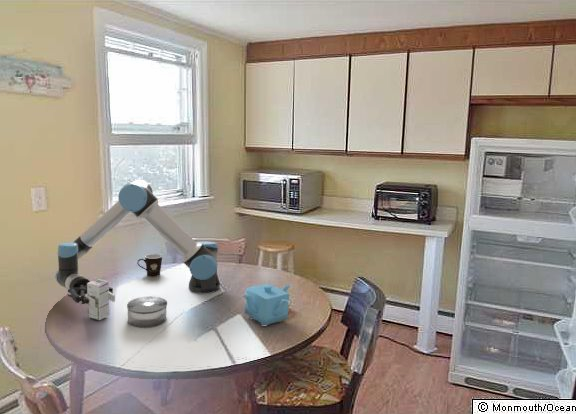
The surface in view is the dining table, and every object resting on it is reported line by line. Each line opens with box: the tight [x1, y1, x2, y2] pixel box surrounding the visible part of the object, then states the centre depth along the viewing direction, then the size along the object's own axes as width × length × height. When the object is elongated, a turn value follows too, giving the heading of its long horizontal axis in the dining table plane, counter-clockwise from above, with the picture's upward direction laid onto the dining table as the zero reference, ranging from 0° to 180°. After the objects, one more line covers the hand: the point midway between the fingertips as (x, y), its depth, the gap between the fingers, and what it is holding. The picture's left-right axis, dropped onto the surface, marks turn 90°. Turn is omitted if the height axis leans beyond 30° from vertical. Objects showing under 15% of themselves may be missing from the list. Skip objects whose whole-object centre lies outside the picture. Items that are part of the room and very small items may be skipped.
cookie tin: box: [126, 295, 168, 329], centre depth 165 cm, size 15×15×7 cm
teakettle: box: [241, 283, 292, 325], centre depth 171 cm, size 19×19×15 cm
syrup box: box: [86, 278, 110, 321], centre depth 162 cm, size 6×6×14 cm
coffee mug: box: [136, 253, 163, 278], centre depth 217 cm, size 12×9×10 cm
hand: (104, 301), depth 159 cm, fingers closed on syrup box, 7 cm apart
